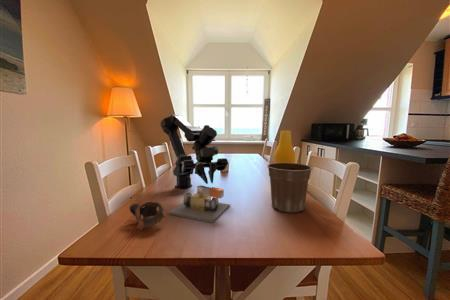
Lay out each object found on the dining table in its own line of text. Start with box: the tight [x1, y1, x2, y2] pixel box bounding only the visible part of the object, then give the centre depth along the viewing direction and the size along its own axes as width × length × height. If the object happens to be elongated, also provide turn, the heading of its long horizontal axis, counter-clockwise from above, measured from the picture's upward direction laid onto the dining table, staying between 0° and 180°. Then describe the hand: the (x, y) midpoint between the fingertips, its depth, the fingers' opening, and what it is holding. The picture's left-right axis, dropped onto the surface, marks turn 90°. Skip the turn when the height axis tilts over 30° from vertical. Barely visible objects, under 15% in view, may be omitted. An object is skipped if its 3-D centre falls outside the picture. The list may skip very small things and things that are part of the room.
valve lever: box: [196, 185, 225, 199], centre depth 74 cm, size 10×3×3 cm, turn 62°
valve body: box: [182, 192, 220, 212], centre depth 77 cm, size 12×5×6 cm, turn 68°
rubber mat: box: [168, 202, 231, 224], centre depth 77 cm, size 17×15×1 cm
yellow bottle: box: [273, 130, 296, 163], centre depth 96 cm, size 9×9×29 cm
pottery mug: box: [129, 200, 165, 231], centre depth 66 cm, size 12×10×8 cm
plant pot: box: [267, 162, 313, 214], centre depth 80 cm, size 16×16×16 cm
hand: (209, 183), depth 82 cm, fingers closed
